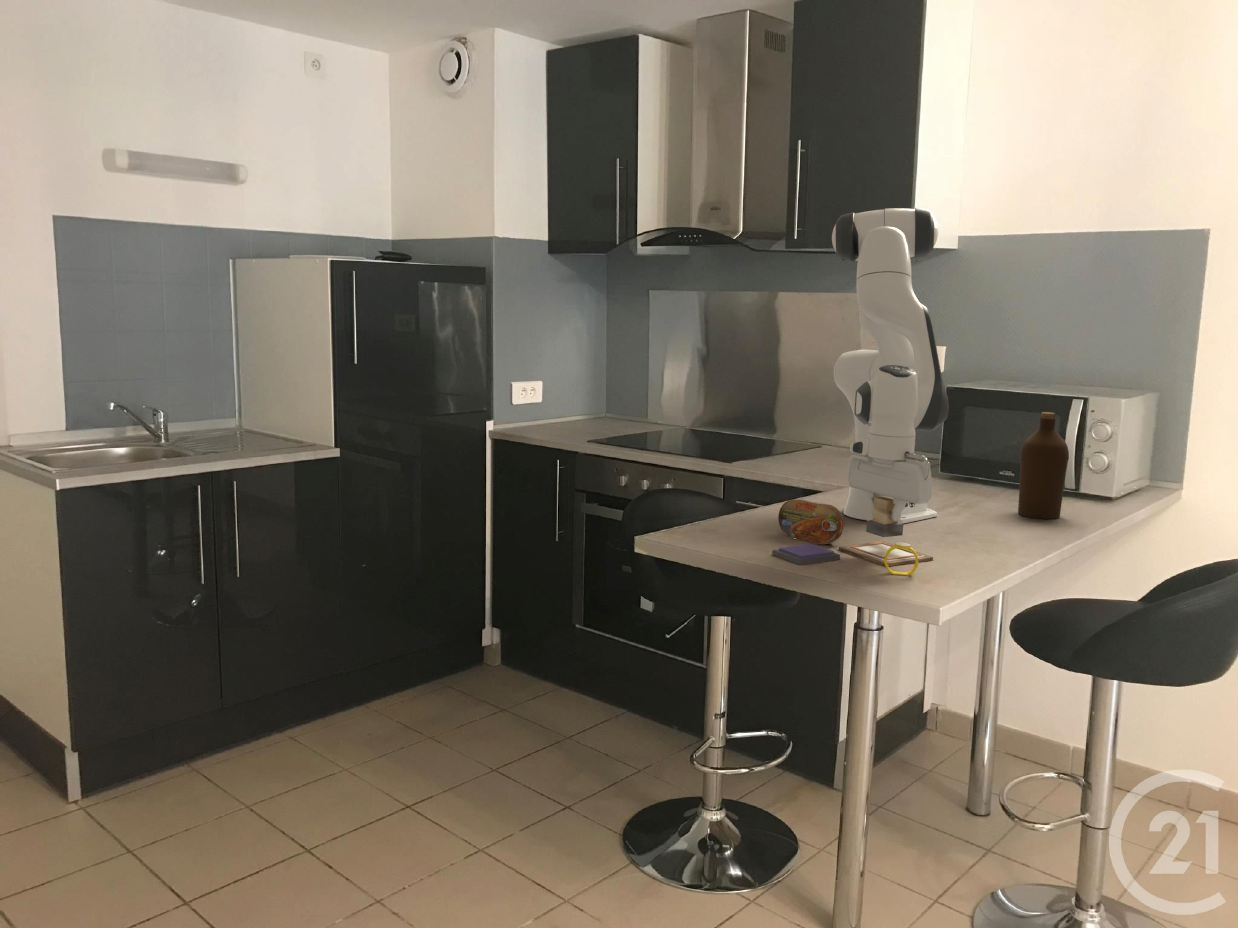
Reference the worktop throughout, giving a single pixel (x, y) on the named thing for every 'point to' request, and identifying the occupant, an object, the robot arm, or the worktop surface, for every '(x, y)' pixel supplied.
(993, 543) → the worktop surface
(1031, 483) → the olive oil
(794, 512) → the tin
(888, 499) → the stamp
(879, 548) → the board
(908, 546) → the watch
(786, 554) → the ink pad
